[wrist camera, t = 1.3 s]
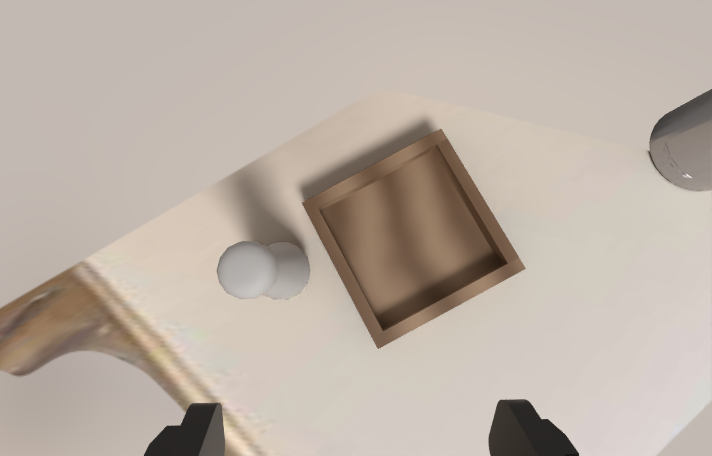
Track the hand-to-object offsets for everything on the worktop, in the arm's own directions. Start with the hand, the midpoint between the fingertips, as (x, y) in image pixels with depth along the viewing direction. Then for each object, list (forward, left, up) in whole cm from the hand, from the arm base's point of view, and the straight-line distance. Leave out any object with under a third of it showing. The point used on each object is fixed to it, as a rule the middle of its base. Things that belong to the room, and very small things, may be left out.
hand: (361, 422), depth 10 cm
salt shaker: (+6, -8, -27) cm, 29 cm away
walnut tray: (-7, -5, -27) cm, 28 cm away
